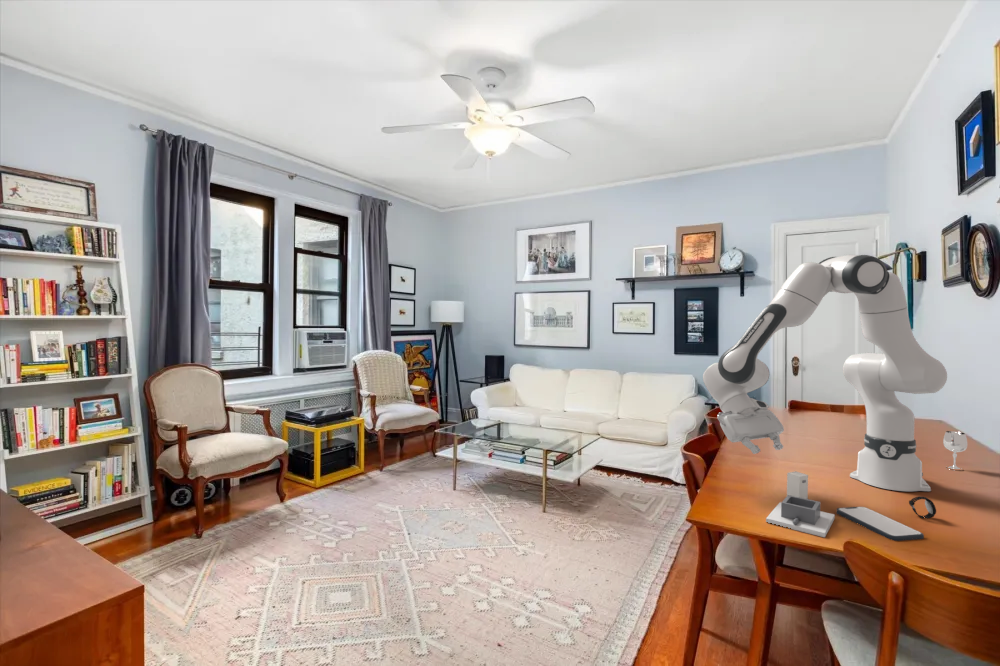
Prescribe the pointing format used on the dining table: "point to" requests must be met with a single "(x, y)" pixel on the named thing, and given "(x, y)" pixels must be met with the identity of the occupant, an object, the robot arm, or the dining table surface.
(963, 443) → the wineglass
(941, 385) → the robot arm
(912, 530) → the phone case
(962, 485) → the dining table surface
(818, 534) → the dock
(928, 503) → the smartwatch
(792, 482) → the block
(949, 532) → the dining table surface
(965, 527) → the dining table surface
